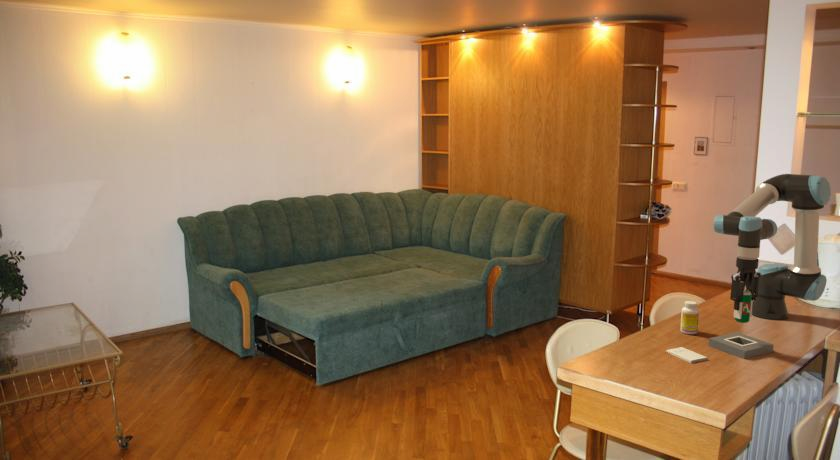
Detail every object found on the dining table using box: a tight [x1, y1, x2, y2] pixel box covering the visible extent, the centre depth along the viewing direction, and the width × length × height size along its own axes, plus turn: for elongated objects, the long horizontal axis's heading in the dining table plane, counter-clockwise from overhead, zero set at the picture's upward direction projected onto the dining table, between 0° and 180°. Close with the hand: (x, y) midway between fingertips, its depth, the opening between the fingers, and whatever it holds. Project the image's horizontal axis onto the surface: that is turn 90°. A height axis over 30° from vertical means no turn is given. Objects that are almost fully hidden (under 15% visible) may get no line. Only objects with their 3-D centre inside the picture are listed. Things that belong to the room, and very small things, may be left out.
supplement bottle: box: [680, 300, 700, 335], centre depth 272 cm, size 7×7×13 cm
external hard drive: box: [665, 346, 709, 364], centre depth 246 cm, size 2×8×12 cm
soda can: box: [734, 289, 752, 324], centre depth 250 cm, size 5×5×12 cm
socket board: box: [708, 331, 775, 360], centre depth 253 cm, size 16×16×3 cm
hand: (742, 316), depth 251 cm, fingers closed on soda can, 5 cm apart
